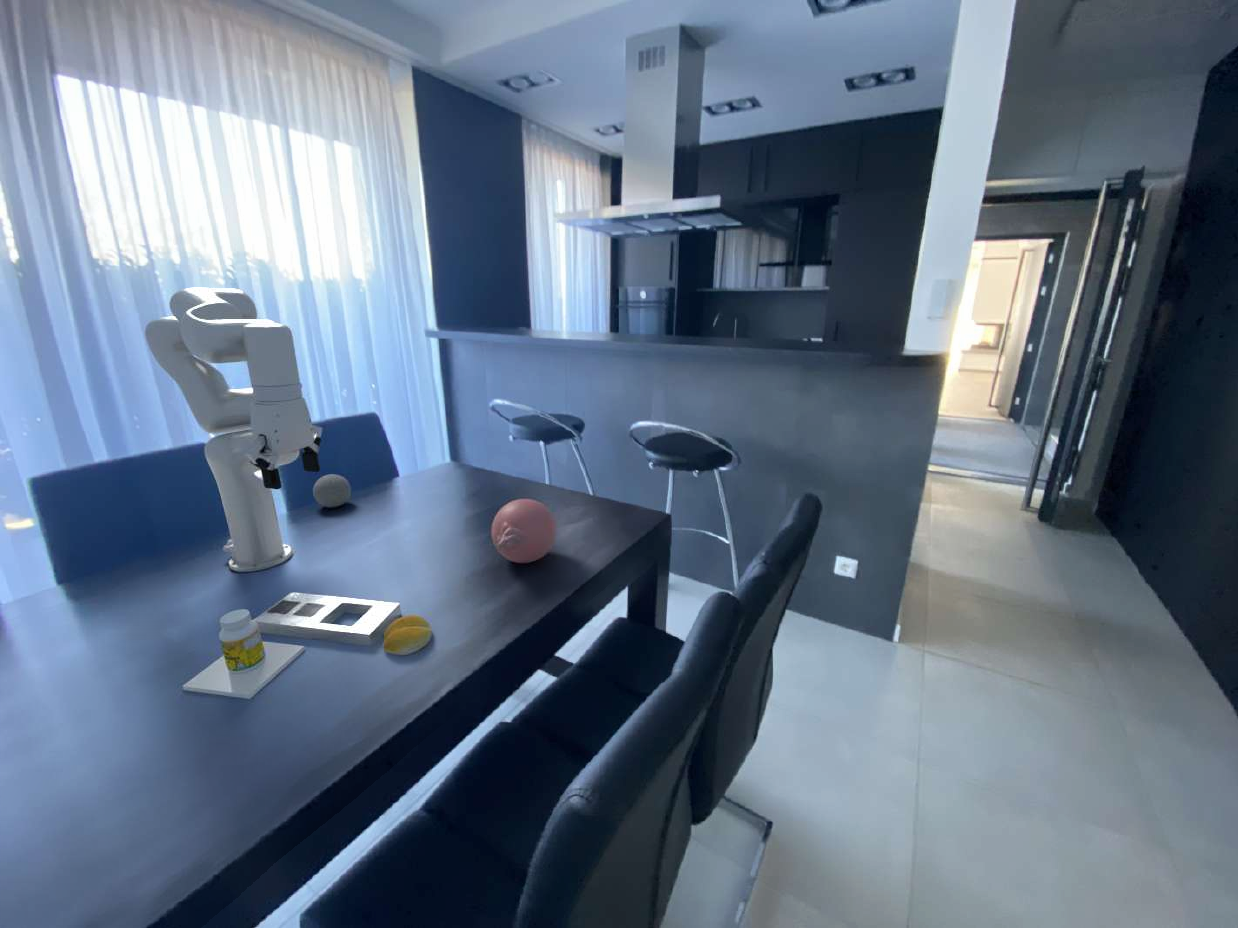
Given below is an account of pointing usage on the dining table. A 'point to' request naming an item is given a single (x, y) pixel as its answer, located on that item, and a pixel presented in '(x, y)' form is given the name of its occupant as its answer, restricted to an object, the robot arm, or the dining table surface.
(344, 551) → the dining table surface
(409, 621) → the bread roll
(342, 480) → the decorative ball
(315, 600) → the grey board with squares
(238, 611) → the supplement bottle
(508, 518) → the balloon
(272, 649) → the plate
